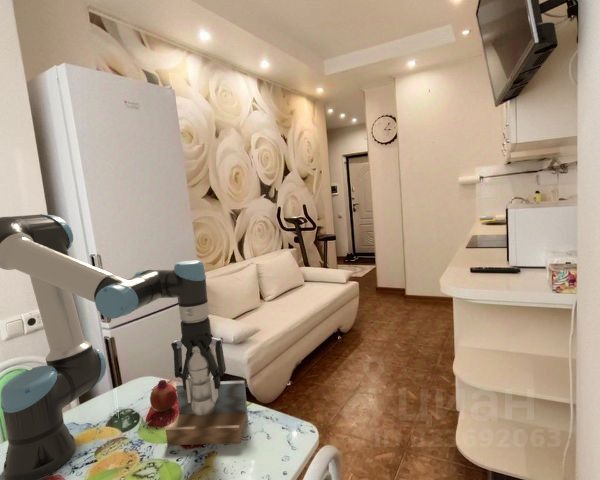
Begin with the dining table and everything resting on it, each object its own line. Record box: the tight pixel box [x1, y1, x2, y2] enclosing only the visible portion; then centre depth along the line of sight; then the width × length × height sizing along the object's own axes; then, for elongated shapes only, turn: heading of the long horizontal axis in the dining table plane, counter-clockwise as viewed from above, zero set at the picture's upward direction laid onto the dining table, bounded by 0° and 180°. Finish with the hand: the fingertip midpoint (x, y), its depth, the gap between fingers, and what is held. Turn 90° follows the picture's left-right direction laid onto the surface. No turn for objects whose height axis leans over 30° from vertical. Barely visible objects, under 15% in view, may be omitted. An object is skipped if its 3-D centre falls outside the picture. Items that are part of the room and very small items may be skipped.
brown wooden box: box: [165, 380, 249, 446], centre depth 98 cm, size 20×10×12 cm, turn 87°
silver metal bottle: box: [187, 346, 216, 417], centre depth 95 cm, size 6×7×20 cm
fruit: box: [149, 379, 178, 412], centre depth 111 cm, size 8×8×10 cm
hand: (203, 399), depth 96 cm, fingers closed on silver metal bottle, 6 cm apart
